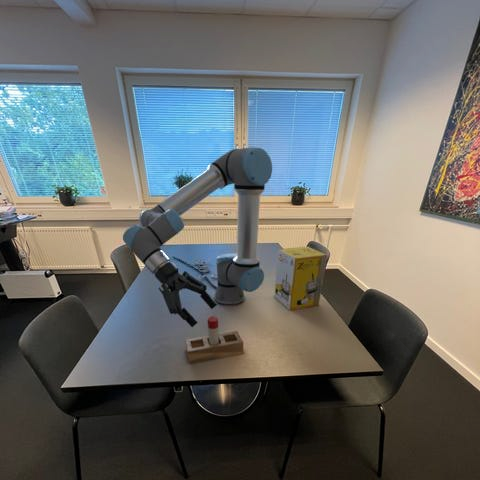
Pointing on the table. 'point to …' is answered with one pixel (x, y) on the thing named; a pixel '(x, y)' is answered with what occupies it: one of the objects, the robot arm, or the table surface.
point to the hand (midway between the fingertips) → (205, 315)
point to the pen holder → (214, 347)
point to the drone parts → (203, 268)
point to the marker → (213, 330)
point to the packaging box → (299, 277)
